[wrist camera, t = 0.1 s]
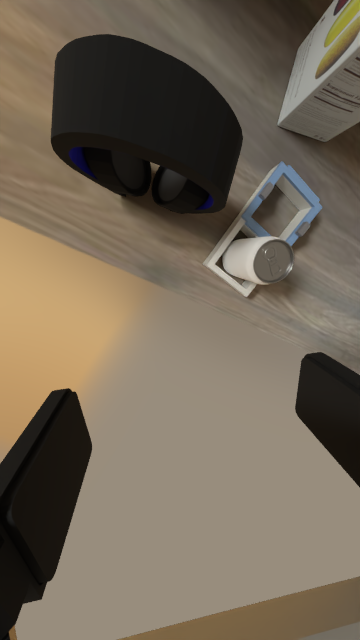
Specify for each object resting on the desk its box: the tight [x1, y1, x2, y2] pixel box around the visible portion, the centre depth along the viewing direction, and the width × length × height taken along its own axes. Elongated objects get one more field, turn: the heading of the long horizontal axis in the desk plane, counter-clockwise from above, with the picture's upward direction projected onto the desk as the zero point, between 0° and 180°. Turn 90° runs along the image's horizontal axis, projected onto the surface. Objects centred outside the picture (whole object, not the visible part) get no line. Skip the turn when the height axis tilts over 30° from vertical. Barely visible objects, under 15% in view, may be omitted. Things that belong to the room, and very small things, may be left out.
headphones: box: [51, 34, 243, 214], centre depth 23 cm, size 18×7×20 cm, turn 76°
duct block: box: [203, 161, 322, 297], centre depth 35 cm, size 19×10×5 cm, turn 144°
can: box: [222, 236, 294, 285], centre depth 32 cm, size 6×6×12 cm
